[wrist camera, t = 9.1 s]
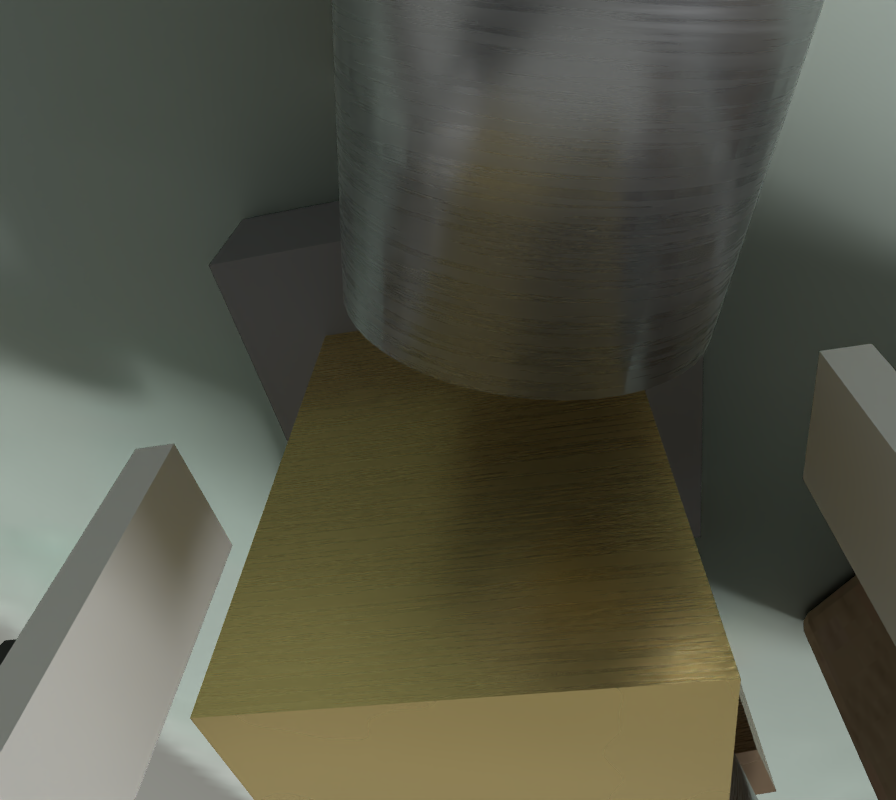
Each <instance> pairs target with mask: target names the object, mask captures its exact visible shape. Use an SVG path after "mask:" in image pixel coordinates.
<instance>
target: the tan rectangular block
mask: <svg viewBox="0 0 896 800" xmlns="http://www.w3.org/2000/svg"><path fill="white" fill-rule="evenodd" d="M740 681H741V678H740V675H739V672H738V669H737V666H736V663H735V660H734V657H733V654H732V651H731V648H730V645H729V642H728V639H727V636H726V633H725V630H724V627H723V624H722V621H721V618H720V615H719V612H718V609H717V606H716V603H715V600H714V597H713V594H712V591H711V588H710V585H709V582H708V579H707V576H706V573H705V570H704V567H703V564H702V561H701V558H700V555H699V552H698V549H697V546H696V543H695V540H694V537H693V534H692V531H691V528H690V525H689V522H688V519H687V516H686V513H685V510H684V507H683V504H682V501H681V498H680V495H679V492H678V489H677V486H676V483H675V480H674V477H673V474H672V471H671V468H670V465H669V462H668V459H667V456H666V453H665V450H664V447H663V444H662V441H661V438H660V435H659V432H658V429H657V426H656V423H655V420H654V417H653V414H652V411H651V408H650V405H649V402H648V398H647V395H646V392H645V390H643V391H638V392H634V393H630V394H626V395H622V396H614V397H607V398H600V399H588V400H568V401H566V400H536V399H527V398H518V397H508V396H503V395H497V394H492V393H486V392H481V391H477V390H473V389H469V388H465V387H462V386H458V385H454V384H450V383H448V382H445V381H442V380H439V379H436V378H434V377H431V376H428V375H425V374H423V373H421V372H419V371H417V370H415V369H412V368H410V367H408V366H406V365H404V364H402V363H400V362H399V361H397V360H395V359H394V358H392V357H390V356H389V355H387V354H385V353H384V352H382V351H381V350H380V349H378V348H377V347H376V346H375V345H373V344H372V343H371V342H370V341H368V340H367V339H366V338H365V337H364V336H363V334H362V333H361V332H360V331H352V332H346V333H339V334H333V335H327V336H325V339H324V341H323V344H322V347H321V350H320V353H319V356H318V358H317V361H316V364H315V367H314V370H313V372H312V375H311V378H310V381H309V384H308V387H307V389H306V392H305V395H304V398H303V401H302V404H301V406H300V409H299V412H298V415H297V418H296V421H295V423H294V426H293V429H292V432H291V435H290V437H289V440H288V443H287V446H286V449H285V452H284V454H283V457H282V460H281V463H280V466H279V469H278V471H277V474H276V477H275V480H274V483H273V485H272V488H271V491H270V494H269V497H268V500H267V502H266V505H265V508H264V511H263V514H262V517H261V519H260V522H259V525H258V528H257V531H256V533H255V536H254V539H253V542H252V545H251V548H250V550H249V553H248V556H247V559H246V562H245V565H244V567H243V570H242V573H241V576H240V579H239V581H238V584H237V587H236V590H235V593H234V596H233V598H232V601H231V604H230V607H229V610H228V613H227V615H226V618H225V621H224V624H223V627H222V630H221V632H220V635H219V638H218V641H217V644H216V646H215V649H214V652H213V655H212V658H211V661H210V663H209V666H208V669H207V672H206V675H205V678H204V680H203V683H202V686H201V689H200V692H199V694H198V697H197V700H196V703H195V706H194V709H193V711H192V714H191V717H190V719H191V720H192V721H193V723H194V724H195V725H196V726H197V728H198V729H199V730H200V732H201V733H202V734H203V735H204V737H205V738H206V739H207V740H208V742H209V743H210V744H211V745H212V747H213V748H214V749H215V751H216V752H217V753H218V754H219V756H220V757H221V758H222V759H223V761H224V762H225V763H226V764H227V766H228V767H229V768H230V770H231V771H232V772H233V773H234V775H235V776H236V777H237V778H238V780H239V781H240V782H241V783H242V785H243V786H244V787H245V789H246V790H247V791H248V792H249V794H250V795H251V796H252V797H253V799H254V800H729V797H730V787H731V776H732V766H733V755H734V745H735V734H736V724H737V713H738V702H739V692H740Z"/></svg>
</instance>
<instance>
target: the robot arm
mask: <svg viewBox="0 0 896 800" xmlns="http://www.w3.org/2000/svg"><path fill="white" fill-rule="evenodd" d="M803 480H804V482H805V484H806V485H807V487H808V489H809V491H810V493H811V494H812V496H813V498H814V500H815V502H816V504H817V505H818V507H819V509H820V511H821V513H822V514H823V516H824V518H825V520H826V522H827V523H828V525H829V527H830V529H831V531H832V532H833V534H834V536H835V538H836V540H837V541H838V543H839V545H840V547H841V549H842V550H843V552H844V554H845V556H846V558H847V559H848V561H849V563H850V565H851V567H852V569H853V570H854V572H855V574H856V576H857V578H858V579H859V581H860V583H861V585H862V587H863V588H864V590H865V592H866V594H867V596H868V597H869V599H870V601H871V603H872V605H873V606H874V608H875V610H876V612H877V614H878V615H879V617H880V619H881V621H882V623H883V625H884V626H885V628H886V630H887V632H888V634H889V635H890V637H891V639H892V641H893V643H894V644H895V646H896V371H895V369H894V368H893V367H892V366H891V365H890V364H889V363H888V361H887V360H886V359H885V358H884V357H883V356H882V355H881V353H880V352H879V351H878V350H877V349H876V348H875V347H874V345H873V344H865V345H858V346H851V347H844V348H837V349H830V350H823V351H819V359H818V366H817V374H816V381H815V389H814V397H813V404H812V412H811V419H810V427H809V434H808V442H807V449H806V457H805V465H804V472H803ZM231 548H232V544H231V542H230V540H229V538H228V537H227V535H226V533H225V531H224V530H223V528H222V526H221V524H220V523H219V521H218V519H217V517H216V516H215V514H214V512H213V510H212V509H211V507H210V505H209V504H208V502H207V500H206V498H205V497H204V495H203V493H202V491H201V490H200V488H199V486H198V484H197V483H196V481H195V479H194V477H193V476H192V474H191V472H190V471H189V469H188V467H187V465H186V464H185V462H184V460H183V458H182V457H181V455H180V453H179V451H178V450H177V448H176V446H175V444H167V445H160V446H153V447H146V448H139V449H135V451H134V452H133V454H132V456H131V457H130V459H129V460H128V462H127V464H126V465H125V467H124V468H123V470H122V472H121V473H120V475H119V476H118V478H117V480H116V481H115V483H114V484H113V486H112V488H111V489H110V491H109V492H108V494H107V496H106V497H105V499H104V500H103V502H102V504H101V505H100V507H99V508H98V510H97V512H96V513H95V515H94V516H93V518H92V520H91V521H90V523H89V524H88V526H87V528H86V529H85V531H84V532H83V534H82V536H81V537H80V539H79V540H78V542H77V544H76V545H75V547H74V548H73V550H72V552H71V553H70V555H69V556H68V558H67V560H66V561H65V563H64V564H63V566H62V568H61V569H60V571H59V572H58V574H57V576H56V577H55V579H54V580H53V582H52V584H51V585H50V587H49V588H48V590H47V592H46V593H45V595H44V596H43V598H42V600H41V601H40V603H39V604H38V606H37V608H36V609H35V611H34V612H33V614H32V616H31V617H30V619H29V620H28V622H27V624H26V625H25V627H24V628H23V630H22V632H21V633H20V635H19V636H18V638H17V639H16V640H6V641H4V642H3V643H2V644H1V645H0V800H135V798H136V796H137V793H138V790H139V787H140V785H141V783H142V780H143V777H144V775H145V772H146V770H147V767H148V764H149V762H150V759H151V756H152V754H153V751H154V749H155V746H156V743H157V741H158V738H159V736H160V733H161V730H162V728H163V725H164V723H165V720H166V717H167V715H168V712H169V710H170V707H171V704H172V702H173V699H174V696H175V694H176V691H177V689H178V686H179V683H180V681H181V678H182V676H183V673H184V670H185V668H186V665H187V663H188V660H189V657H190V655H191V652H192V649H193V647H194V644H195V642H196V639H197V636H198V634H199V631H200V629H201V626H202V623H203V621H204V618H205V616H206V613H207V610H208V608H209V605H210V603H211V600H212V597H213V595H214V592H215V589H216V587H217V584H218V582H219V579H220V576H221V574H222V571H223V569H224V566H225V563H226V561H227V558H228V556H229V553H230V550H231Z"/></svg>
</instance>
